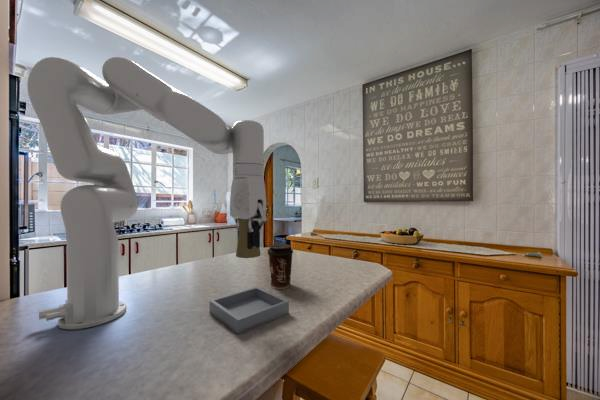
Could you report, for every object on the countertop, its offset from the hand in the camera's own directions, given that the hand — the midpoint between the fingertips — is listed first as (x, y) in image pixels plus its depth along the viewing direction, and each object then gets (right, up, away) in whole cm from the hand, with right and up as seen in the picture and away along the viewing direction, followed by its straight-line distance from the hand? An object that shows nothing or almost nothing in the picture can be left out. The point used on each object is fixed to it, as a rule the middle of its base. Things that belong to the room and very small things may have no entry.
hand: (248, 246), depth 62 cm
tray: (0, -17, 0) cm, 17 cm away
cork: (0, -2, 0) cm, 2 cm away
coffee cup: (+6, -17, +20) cm, 27 cm away
